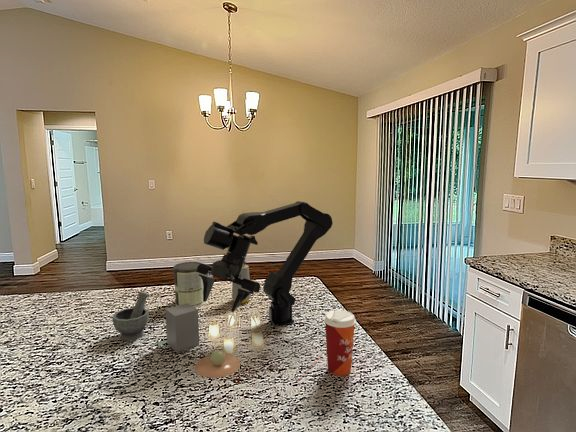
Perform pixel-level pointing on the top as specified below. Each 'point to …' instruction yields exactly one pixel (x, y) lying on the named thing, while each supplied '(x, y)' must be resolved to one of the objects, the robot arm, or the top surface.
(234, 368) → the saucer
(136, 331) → the mortar and pestle
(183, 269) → the coffee can
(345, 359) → the paper cup
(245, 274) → the soap bottle
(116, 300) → the top surface
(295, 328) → the top surface
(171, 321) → the grey tall block
